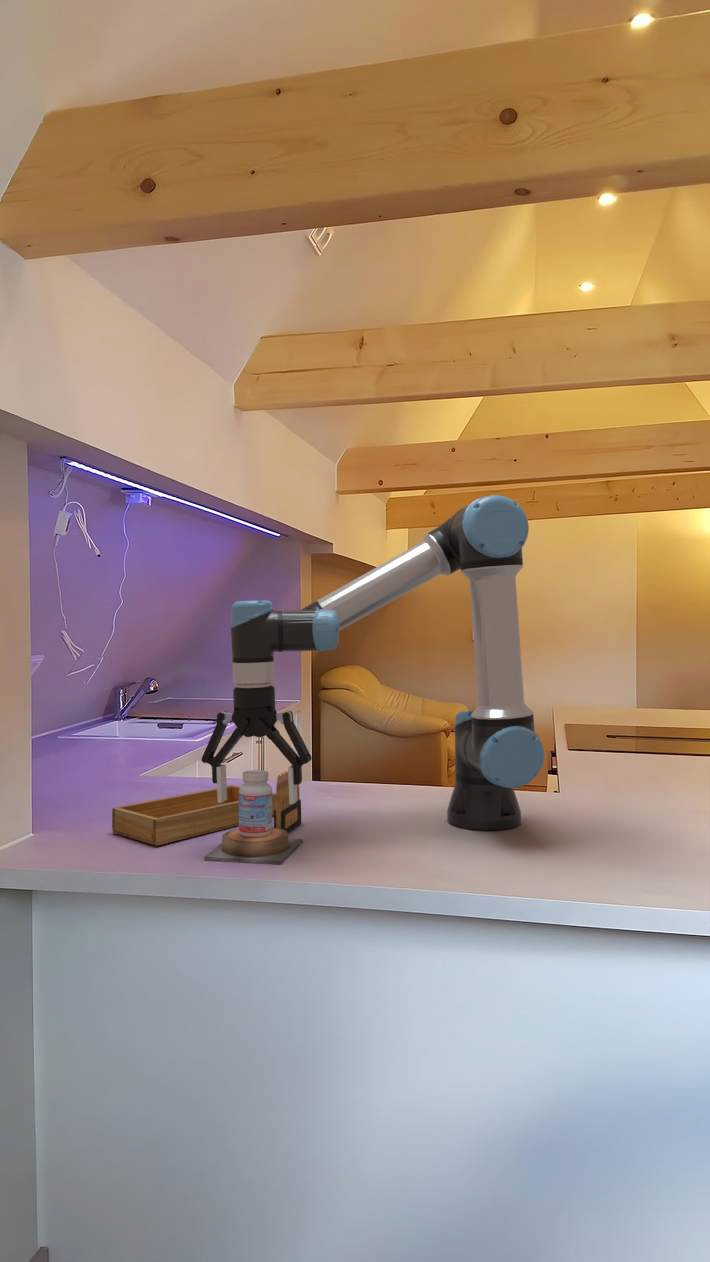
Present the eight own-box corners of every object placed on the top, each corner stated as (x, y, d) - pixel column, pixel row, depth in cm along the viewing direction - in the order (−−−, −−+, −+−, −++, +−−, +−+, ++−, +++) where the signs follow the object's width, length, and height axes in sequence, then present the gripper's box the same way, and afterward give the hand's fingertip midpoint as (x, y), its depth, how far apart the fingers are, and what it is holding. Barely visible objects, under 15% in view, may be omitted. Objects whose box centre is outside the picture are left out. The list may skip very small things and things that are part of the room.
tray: (232, 807, 177) (232, 782, 177) (278, 818, 167) (277, 791, 167) (111, 836, 154) (111, 807, 154) (156, 850, 144) (155, 819, 144)
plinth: (302, 841, 147) (302, 825, 147) (280, 864, 133) (280, 846, 133) (232, 838, 150) (232, 822, 150) (204, 860, 136) (204, 842, 136)
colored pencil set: (282, 837, 150) (281, 775, 150) (273, 836, 151) (273, 775, 151) (301, 823, 160) (301, 765, 160) (293, 823, 161) (292, 765, 161)
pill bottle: (234, 837, 139) (233, 775, 139) (245, 828, 145) (244, 768, 145) (267, 838, 138) (266, 775, 138) (276, 829, 144) (275, 769, 144)
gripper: (325, 682, 142) (328, 798, 143) (197, 684, 147) (201, 795, 148) (315, 686, 135) (318, 808, 135) (181, 688, 140) (185, 805, 140)
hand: (257, 801), depth 142 cm, fingers open, 13 cm apart
